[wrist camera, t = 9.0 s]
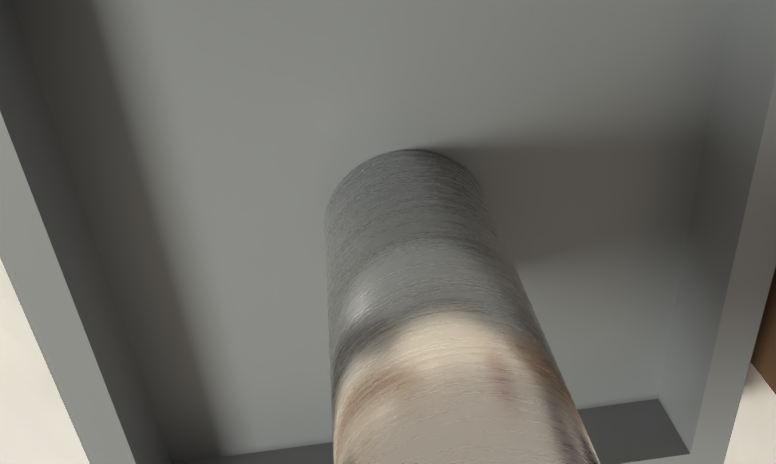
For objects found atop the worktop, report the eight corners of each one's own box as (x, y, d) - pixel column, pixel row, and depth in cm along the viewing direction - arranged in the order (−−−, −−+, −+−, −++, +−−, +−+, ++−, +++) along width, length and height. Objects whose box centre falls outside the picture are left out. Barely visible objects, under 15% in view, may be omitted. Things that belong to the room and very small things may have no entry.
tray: (795, -209, 11) (899, -205, 9) (675, 400, 18) (720, 474, 16) (-77, -131, 10) (-160, -110, 8) (148, 471, 17) (130, 556, 15)
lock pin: (487, 140, 13) (697, 555, 6) (487, 281, 14) (653, 736, 7) (314, 159, 12) (322, 604, 6) (333, 298, 14) (358, 779, 7)
